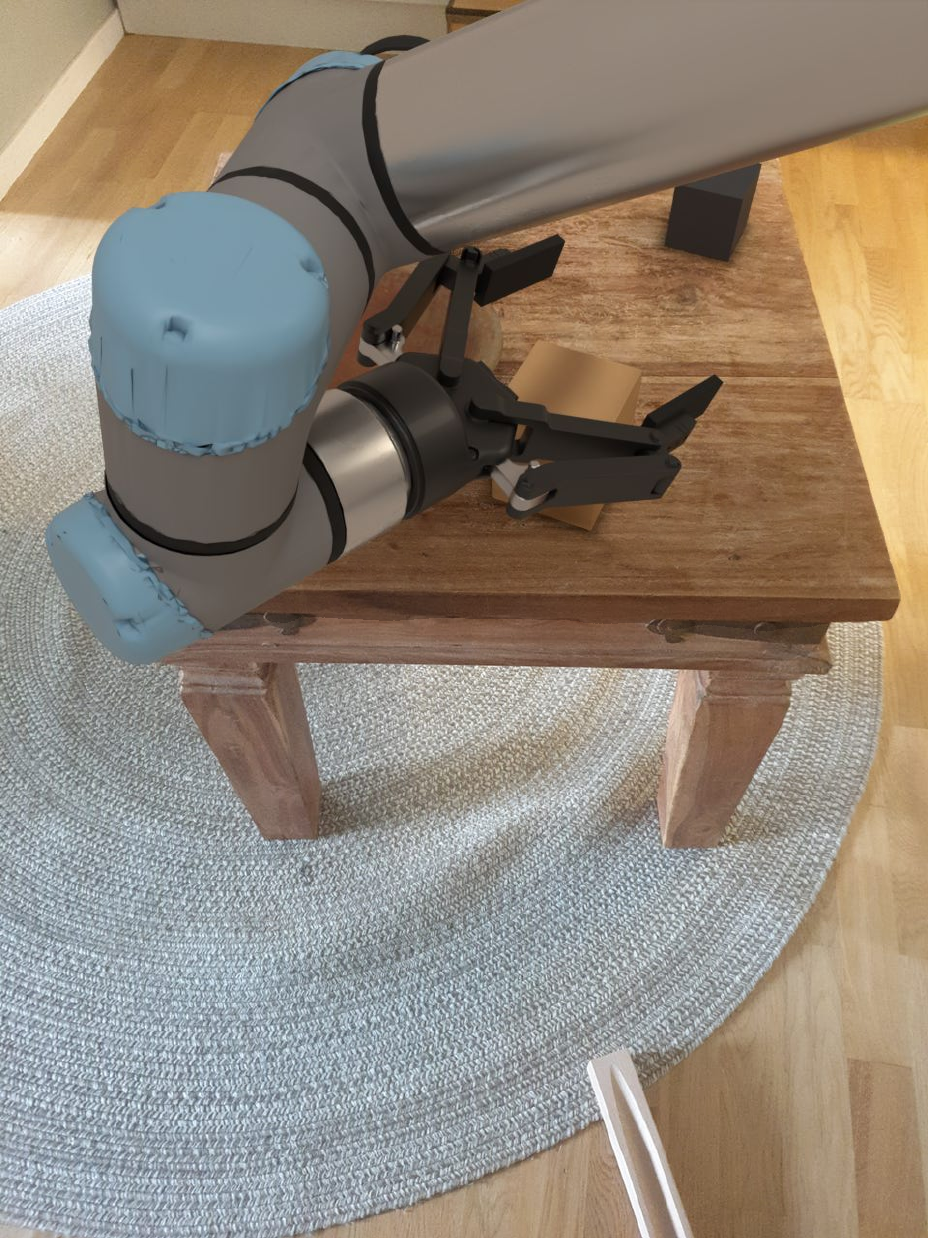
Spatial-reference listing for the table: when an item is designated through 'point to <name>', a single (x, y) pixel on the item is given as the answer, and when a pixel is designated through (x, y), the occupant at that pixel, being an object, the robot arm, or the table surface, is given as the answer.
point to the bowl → (424, 328)
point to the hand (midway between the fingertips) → (629, 322)
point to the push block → (575, 402)
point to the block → (712, 213)
